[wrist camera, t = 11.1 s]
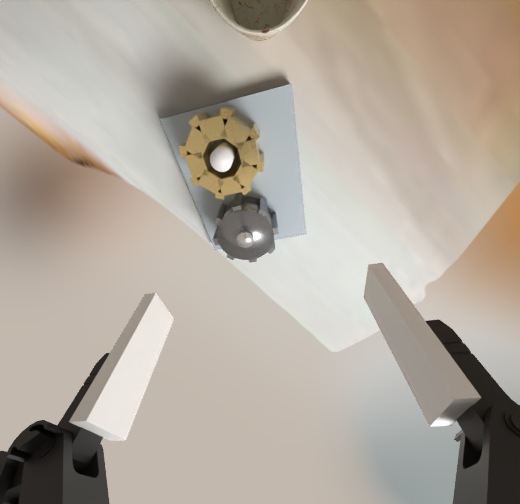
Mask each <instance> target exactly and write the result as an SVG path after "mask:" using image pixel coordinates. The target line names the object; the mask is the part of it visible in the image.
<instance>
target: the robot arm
mask: <svg viewBox="0 0 520 504" xmlns="http://www.w3.org/2000/svg"><path fill="white" fill-rule="evenodd" d="M364 299H365V301H366V303H367V305H368V307H369V308H370V310H371V312H372V314H373V316H374V318H375V320H376V322H377V324H378V326H379V328H380V330H381V332H382V334H383V336H384V338H385V340H386V342H387V344H388V346H389V347H390V349H391V351H392V353H393V355H394V357H395V359H396V361H397V363H398V365H399V367H400V369H401V371H402V373H403V375H404V377H405V379H406V381H407V383H408V385H409V387H410V388H411V390H412V392H413V394H414V396H415V398H416V400H417V402H418V404H419V406H420V408H421V410H422V412H423V414H424V416H425V418H426V420H427V422H428V423H429V425H430V426H448V425H449V426H450V425H452V424H453V423H454V422H455V421H456V420H457V422H458V423H459V425H460V426H461V428H462V430H461V431H460V432H459V433H458V434H457V435H456V437H455V439H454V440H456V441H457V442H458V441H460V450H459V458H458V465H457V474H456V482H455V490H454V499H453V504H520V405H518V404H516V403H515V402H514V401H513V400H511V399H510V398H509V396H508V395H507V394H506V393H505V392H504V391H503V390H502V389H501V388H500V387H499V385H498V384H497V383H496V381H495V380H494V379H493V378H492V377H491V375H490V374H489V373H488V372H487V371H486V369H485V368H484V367H483V366H482V364H481V363H480V362H479V361H478V360H477V358H476V357H475V356H474V355H473V354H471V352H470V350H469V349H468V348H467V346H466V345H465V344H463V343H462V340H461V339H460V338H459V337H458V335H457V334H456V333H455V332H454V331H453V329H451V328H450V327H449V326H447V325H446V324H444V323H443V322H442V321H440V320H431V321H425V320H424V319H423V317H422V316H421V315H420V313H419V312H418V311H417V309H416V308H415V307H414V305H413V304H412V302H411V301H410V300H409V298H408V297H407V295H406V294H405V293H404V291H403V290H402V289H401V287H400V286H399V285H398V283H397V282H396V280H395V279H394V278H393V276H392V275H391V274H390V272H389V271H388V270H387V268H386V267H385V265H384V264H383V263H378V264H370V265H368V272H367V278H366V285H365V291H364ZM173 320H174V318H173V317H172V316H171V314H170V313H169V311H168V310H167V308H166V307H165V305H164V304H163V303H162V301H161V300H160V298H159V297H158V295H157V294H156V293H152V294H145V295H144V297H143V298H142V300H141V302H140V303H139V305H138V307H137V309H136V310H135V312H134V314H133V315H132V317H131V319H130V320H129V322H128V324H127V325H126V327H125V329H124V330H123V332H122V334H121V335H120V337H119V339H118V340H117V342H116V344H115V345H114V347H113V349H112V350H111V352H110V353H106V354H105V355H104V356H103V357H102V358H101V359H100V360H99V362H97V363H96V365H95V366H94V368H93V370H92V371H91V373H90V376H89V377H88V378H87V379H86V381H85V383H84V386H82V387H81V389H80V390H79V392H78V394H77V396H76V397H75V399H74V400H73V402H72V403H71V405H70V407H69V408H68V410H67V411H66V413H65V415H64V416H63V418H62V419H61V421H60V422H59V424H58V425H54V424H52V423H49V422H47V421H45V420H41V421H37V422H35V423H33V424H32V425H30V426H29V427H27V428H26V429H25V430H24V431H23V432H22V433H21V434H20V435H19V436H18V437H17V438H16V439H15V440H14V442H13V443H12V445H11V447H10V448H9V450H8V452H4V451H0V504H109V497H108V488H107V480H106V471H105V462H104V453H103V447H102V445H101V444H100V443H101V440H102V438H105V439H108V440H110V441H123V440H126V438H127V435H128V433H129V431H130V428H131V426H132V423H133V421H134V418H135V416H136V413H137V411H138V408H139V406H140V403H141V400H142V398H143V395H144V393H145V390H146V388H147V385H148V383H149V380H150V378H151V375H152V373H153V370H154V368H155V365H156V363H157V360H158V358H159V355H160V353H161V350H162V348H163V345H164V343H165V340H166V338H167V335H168V333H169V330H170V328H171V325H172V322H173Z"/></svg>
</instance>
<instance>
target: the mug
mask: <svg viewBox="0 0 520 504" xmlns="http://www.w3.org/2000/svg"><path fill="white" fill-rule="evenodd" d="M209 1H210V2H211V4H212V6H213V7H214V9H215V10H216V11H217V13H218V14H219V15H220V16H221V17H222V19H223V20H224V21H225V22H226V23H228V24H229V25H230V26H231V27H232V28H234V29H235V30H237V31H238V32H240V33H242V34H243V35H245V36H246V37H248V38H250V39H252V40H256V41H263V40H267V39H269V38H271V37H273V36H274V35H276V34H277V33H278V32H280V31H281V30H282V29H284V28H285V27H287V26H288V25H289V24H290V23H291V22H292V21H293V20H294V19H295V18H296V17H297V16H298V14H299V13H300V12H301V10H302V9H303V8H304V6H305V4H306V3H307V1H308V0H209Z"/></svg>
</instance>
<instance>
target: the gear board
mask: <svg viewBox="0 0 520 504" xmlns="http://www.w3.org/2000/svg"><path fill="white" fill-rule="evenodd" d="M224 107H231V108H235V109H236V115H237V116H238V117H240V118H241V119H242V120H244V121H245V122H246V123H248V124H249V125H253V124H254V123H255V124H256V125H257V127H258V129H259V130H260V137H259V138H258V139H257V141H258V146H259V151H260V153H264V161H265V163H264V168H263V172H257V174H256V175H255V177H254V179H253V180H252V187H251V191H250V192H248V193H247V194H245V195H244V197H246V196H248V197H254V198H257V199H258V198H259V197H260V195H261V196H262V197H264V198H265V199H267V206H268V208H269V209H270V211H271V213H276V215H277V222H278V230H279V234H277V235H274V240H276V239H282V238H287V237H293V236H299V235H304V234H306V225H305V214H304V204H303V194H302V183H301V173H300V163H299V152H298V142H297V132H296V121H295V111H294V101H293V91H292V84H288V85H285V86H281V87H277V88H274V89H270V90H266V91H262V92H259V93H255V94H251V95H248V96H244V97H240V98H237V99H233V100H229V101H225V102H222V103H218V104H214V105H211V106H207V107H203V108H199V109H196V110H192V111H188V112H185V113H181V114H177V115H174V116H170V117H166V118H162V119H160V121H161V124H162V126H163V128H164V131H165V133H166V135H167V138H168V140H169V142H170V145H171V147H172V150H173V152H174V154H175V157H176V159H177V161H178V164H179V166H180V168H181V171H182V173H183V175H184V178H185V180H186V183H187V185H188V187H189V190H190V192H191V194H192V197H193V199H194V201H195V204H196V206H197V209H198V211H199V213H200V216H201V218H202V220H203V223H204V225H205V227H206V230H207V232H208V235H209V237H210V239H211V242H212V244H213V246H214V249H215V250H218V249H222V248H221V247H220V245H215V244H214V242H213V237H214V234H215V231H216V228H217V225H215V224H214V221H215V218H216V216H217V213H218V210H219V208H220V206H221V205H222V203H223V204H225V205H226V206H227V204H228V203H229V202H231V201H232V200H234V198H235V195H236V194H237V193H235V194H230V195H225V198H224V199H218V198H215V194H214V193H212V192H211V191H209V190H207V189H206V188H204V187H202V186H200V185H198V186H195V185H194V184H193V183H192V182H191V181H190V180H189V179H190V178H191V177H192V175H191V172H190V170H189V167H188V165H187V162H186V160H185V157H180V149H179V146H180V145H181V144H183V143H185V142H186V141H187V140H188V137H189V134H190V132H191V129H192V127H191V125H190V124H189V123H188V122H189V121H190V120H191V119H192V118H193V117H194V116H195V115H198V114H201V113H205V112H206V113H207V115H208V116H209V117H211V116H215V115H219V114H220V110H221V108H224ZM211 148H212V151H213V152H212V153H211V156H210V163H211V165H212V167H213V168H214V169H215V170H217V171H219V172H225V171H227V170H229V169H230V167H231V166H236V165H238V164H239V163H240V161H241V160H240V156H239V152H238V148H237V147H236V146H234V145H233V144H231V143H230V142H228V141H227V140H225V139H224V138H223V139H219V140H215V141H214V142H213V145H212V147H211ZM239 193H242V192H239Z"/></svg>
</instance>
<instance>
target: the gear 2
mask: <svg viewBox="0 0 520 504" xmlns="http://www.w3.org/2000/svg"><path fill="white" fill-rule="evenodd" d="M214 224H215V225H217V228H216V231H215V234H214V237H213V242H214V244H215V245H220V247H221V248H222V249H223V250H224V251H225V252H226V253H227V257H228V258H230V259H232V260H233V259H234V258H238V259H243V260H249V262H256V261H257V258H259V257H261V256H262V255H264V254H265V253H267V252H268V253H270V254H271V253H272V252H273V251H274V249H275V244H274V235H277V234H279V230H278V222H277V215H276V213H271V211H270V209H269V208H268V206H267V199H265V198H264V197H262V196H261V195H260V197H259V198H258V199H257V198H254V197H248V196H246V197H244V195H243V194H242V193H237V194H236V195H235V198H234V200H232V201H231V202H229V203H228V204H227V206H226V205H225V204H223V203H222V205H221V206H220V208H219V210H218V213H217V216H216V218H215V221H214Z"/></svg>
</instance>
